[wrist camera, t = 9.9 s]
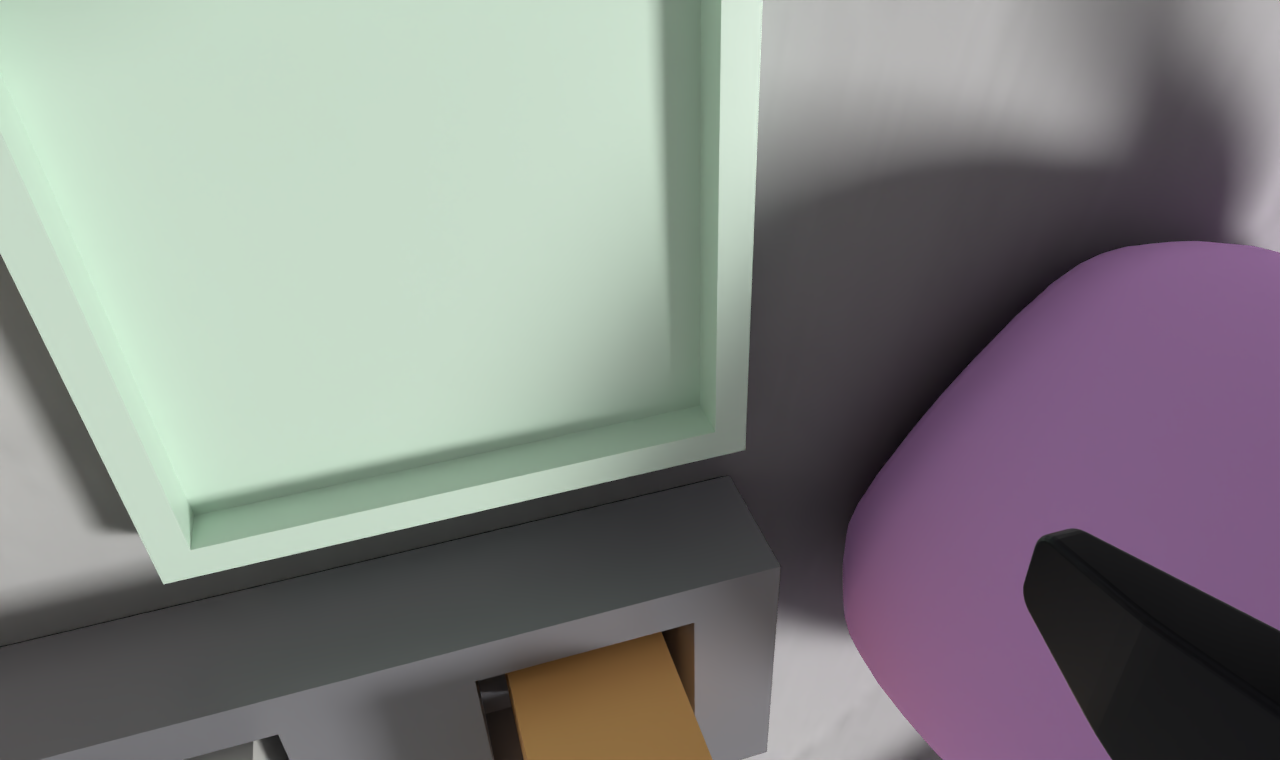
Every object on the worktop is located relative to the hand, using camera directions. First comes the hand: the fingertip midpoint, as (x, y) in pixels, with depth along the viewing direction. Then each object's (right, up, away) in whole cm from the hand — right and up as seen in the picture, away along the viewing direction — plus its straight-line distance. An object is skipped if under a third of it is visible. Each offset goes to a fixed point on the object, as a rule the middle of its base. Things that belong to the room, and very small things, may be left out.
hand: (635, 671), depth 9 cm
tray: (-5, +6, +10) cm, 13 cm away
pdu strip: (-7, -5, +17) cm, 19 cm away
